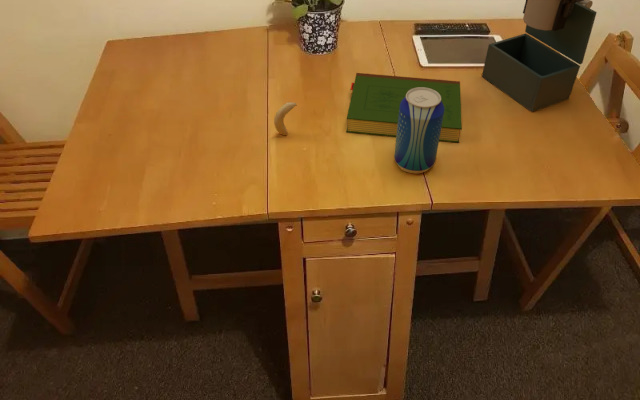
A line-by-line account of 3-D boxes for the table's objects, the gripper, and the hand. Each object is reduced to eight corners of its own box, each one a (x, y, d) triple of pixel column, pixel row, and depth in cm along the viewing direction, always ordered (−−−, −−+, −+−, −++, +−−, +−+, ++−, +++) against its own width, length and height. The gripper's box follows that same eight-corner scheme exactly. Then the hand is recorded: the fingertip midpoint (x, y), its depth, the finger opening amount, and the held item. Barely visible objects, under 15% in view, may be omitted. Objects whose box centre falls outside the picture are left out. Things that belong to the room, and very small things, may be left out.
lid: (594, 13, 121) (614, 4, 123) (534, -18, 133) (553, -25, 134) (579, 64, 130) (598, 56, 132) (524, 31, 142) (543, 24, 143)
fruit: (269, 130, 126) (270, 135, 125) (278, 100, 120) (280, 106, 119) (286, 131, 127) (288, 137, 126) (296, 102, 121) (298, 107, 120)
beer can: (395, 147, 123) (403, 82, 112) (435, 152, 122) (447, 87, 111) (391, 173, 117) (398, 106, 106) (433, 178, 116) (445, 111, 105)
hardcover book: (457, 95, 138) (460, 81, 135) (458, 142, 124) (461, 128, 122) (352, 86, 141) (353, 72, 138) (342, 131, 127) (343, 117, 125)
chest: (531, 112, 133) (541, 78, 127) (481, 76, 144) (488, 44, 138) (568, 99, 137) (580, 65, 131) (517, 65, 148) (525, 33, 142)
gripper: (521, -101, 119) (497, 5, 134) (602, -70, 105) (565, 45, 121) (548, -107, 121) (522, -2, 137) (631, -76, 108) (591, 36, 123)
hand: (542, 20), depth 129 cm, fingers closed on cup, 8 cm apart
